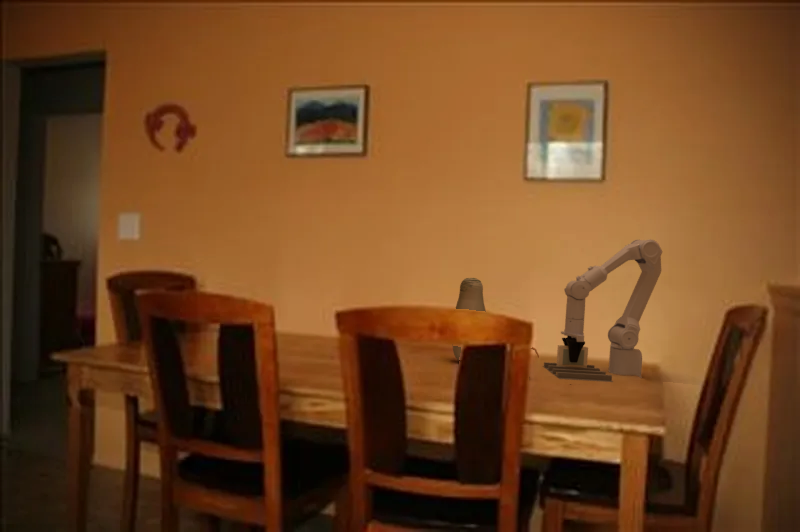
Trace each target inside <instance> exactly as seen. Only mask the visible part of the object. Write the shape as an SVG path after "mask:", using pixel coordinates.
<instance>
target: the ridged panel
mask: <svg viewBox="0 0 800 532" xmlns="http://www.w3.org/2000/svg"><path fill="white" fill-rule="evenodd" d="M556 365H557V362H548V361H547V362H546V361H544V362H543V365H542V367H543V368H545V370H547V371H548V372H549V373H551V374H552V375H553V376H555V377H556V378H558V380H569V381H570V380H571V381H587V382H606V383H608V382H609V383H614V381H613V380H612V378H613V375H612V374H607V372H606V371H602V370H601V369H600V368H598V367H595V365H593V364H587V368H586V367H569V366H556Z"/></svg>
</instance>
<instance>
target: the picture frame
mask: <svg viewBox="0 0 800 532" xmlns="http://www.w3.org/2000/svg"><path fill="white" fill-rule="evenodd" d="M556 352H557V354H556V363H557V365H556V366H569V367H586V368H587V365H588V358H589V357H588V355H589V347H588V346H583V347H582V349H581V352H580V355H579V358H578V361H577V363H575V362H570V359H569V348H568V346H565V345H564V344H559V345H557V350H556Z"/></svg>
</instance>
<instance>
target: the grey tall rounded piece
mask: <svg viewBox="0 0 800 532" xmlns="http://www.w3.org/2000/svg"><path fill="white" fill-rule="evenodd" d="M458 293H459V294H458V299H457V302H456V306H455V308H456V309H469V310H476V311H485V312H486V307H485V301H484V285H483V283H482V281H481V280H480V279H478V278H476V277H466V278H464V279H463V280H462V281H461V282H460V285H459V292H458ZM486 313H487V312H486ZM452 352H453V355H454V357H455V359H456V360H457V361H459V357H460V353H461V347H458V346H453V345H452Z"/></svg>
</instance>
